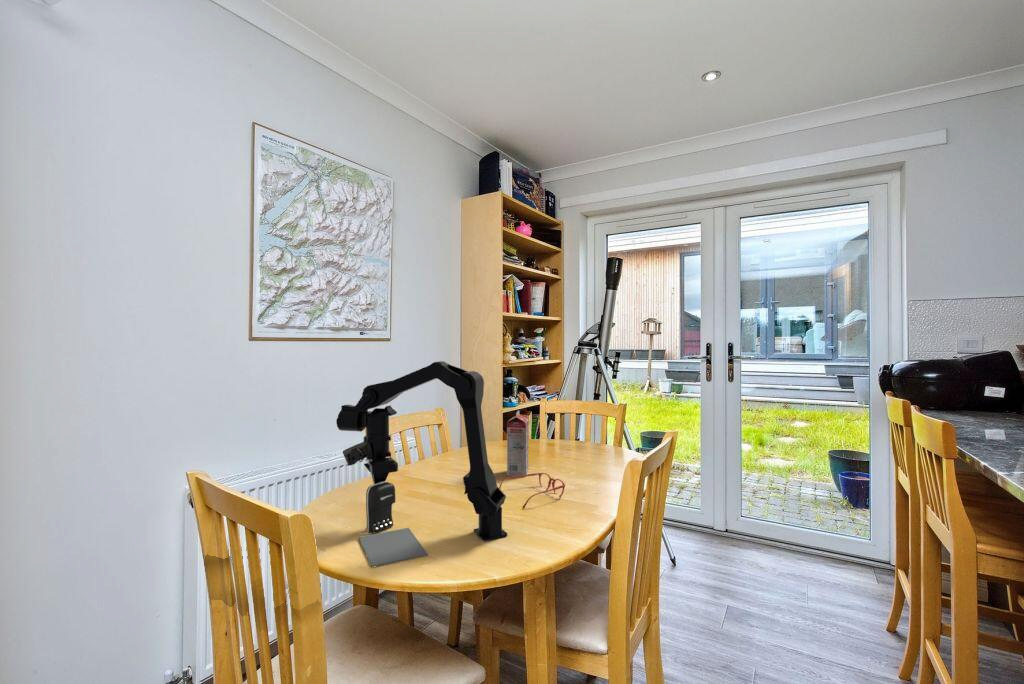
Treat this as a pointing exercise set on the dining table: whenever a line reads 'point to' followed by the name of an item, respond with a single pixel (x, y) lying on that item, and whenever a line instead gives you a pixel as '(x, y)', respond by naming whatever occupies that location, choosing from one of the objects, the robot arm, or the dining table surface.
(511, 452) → the juice carton
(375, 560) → the mat
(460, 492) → the dining table surface
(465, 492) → the robot arm
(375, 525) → the battery charger
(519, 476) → the red eyeglasses
